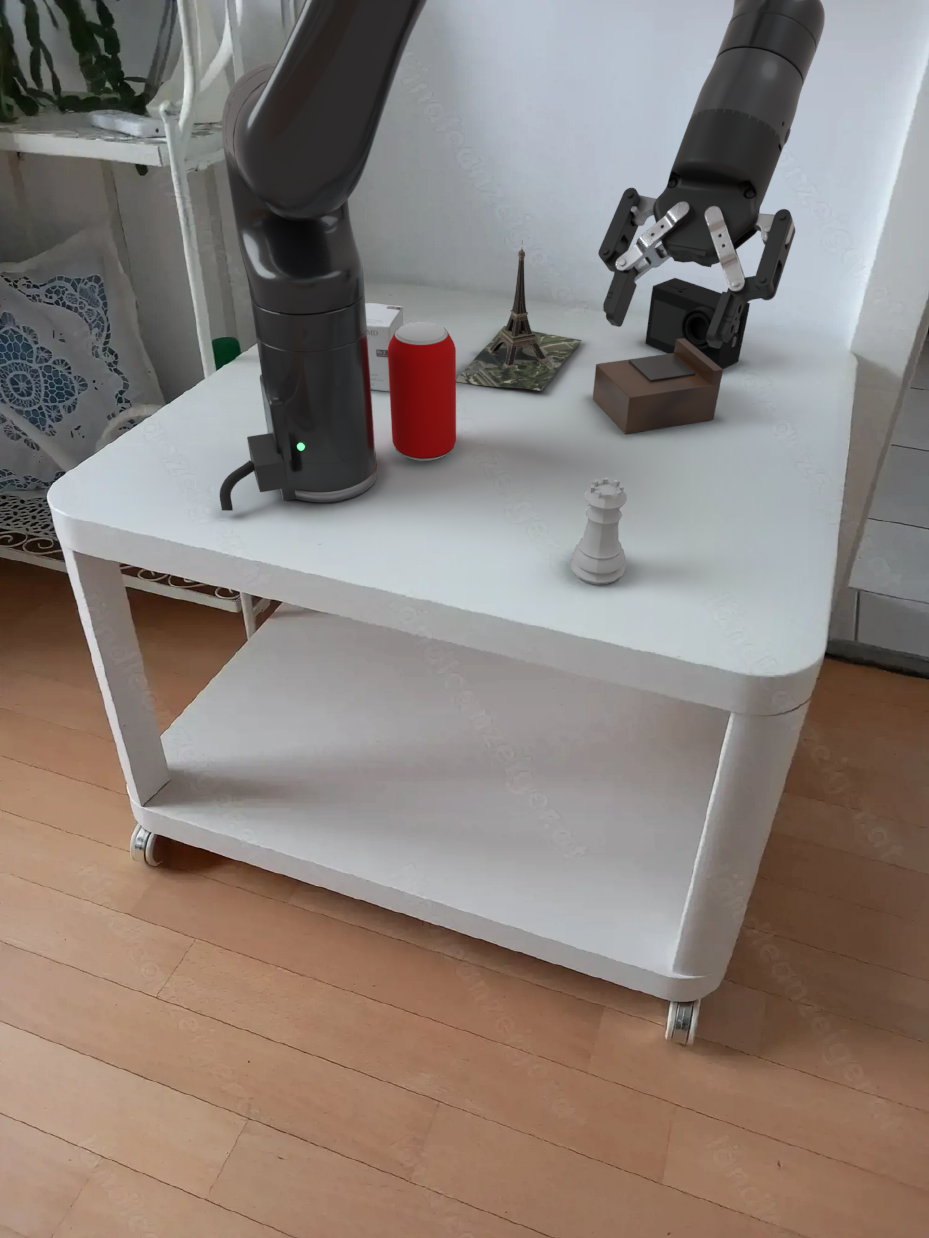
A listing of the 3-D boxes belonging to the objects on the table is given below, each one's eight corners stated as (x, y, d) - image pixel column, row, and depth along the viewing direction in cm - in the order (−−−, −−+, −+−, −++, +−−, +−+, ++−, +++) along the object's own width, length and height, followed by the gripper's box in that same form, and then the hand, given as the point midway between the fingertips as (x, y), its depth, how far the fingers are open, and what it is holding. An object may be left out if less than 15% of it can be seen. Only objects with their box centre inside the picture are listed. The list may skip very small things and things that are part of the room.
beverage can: (413, 473, 88) (409, 351, 80) (381, 445, 92) (374, 327, 84) (468, 455, 90) (469, 335, 83) (434, 429, 94) (431, 312, 87)
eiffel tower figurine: (542, 397, 100) (550, 271, 91) (454, 381, 103) (454, 257, 94) (581, 343, 111) (592, 226, 102) (501, 330, 113) (504, 215, 105)
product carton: (338, 388, 101) (332, 321, 97) (353, 364, 106) (348, 300, 101) (393, 392, 101) (390, 326, 96) (406, 368, 105) (403, 304, 100)
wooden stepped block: (625, 434, 94) (631, 383, 90) (592, 399, 100) (597, 350, 96) (713, 419, 96) (723, 369, 93) (676, 386, 102) (684, 337, 98)
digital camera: (636, 346, 110) (644, 287, 105) (666, 334, 113) (675, 276, 108) (709, 376, 104) (720, 314, 99) (738, 362, 107) (750, 301, 102)
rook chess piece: (622, 590, 74) (634, 505, 69) (566, 583, 75) (574, 498, 70) (626, 557, 78) (638, 474, 72) (573, 551, 78) (580, 468, 73)
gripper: (638, 97, 73) (565, 298, 74) (822, 113, 66) (738, 333, 67) (664, 149, 79) (596, 333, 80) (833, 169, 73) (757, 369, 74)
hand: (661, 333), depth 74 cm, fingers open, 8 cm apart
